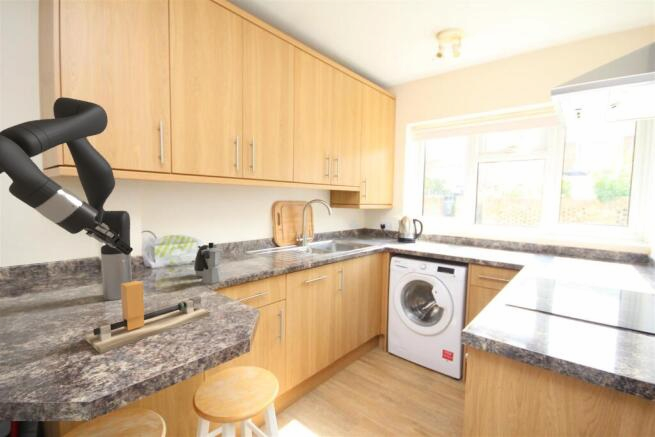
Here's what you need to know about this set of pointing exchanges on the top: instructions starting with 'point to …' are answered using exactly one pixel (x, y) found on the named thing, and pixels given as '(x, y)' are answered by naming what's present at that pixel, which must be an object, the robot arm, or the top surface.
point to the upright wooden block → (132, 304)
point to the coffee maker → (211, 265)
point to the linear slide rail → (146, 325)
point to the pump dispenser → (199, 261)
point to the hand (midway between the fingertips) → (129, 252)
